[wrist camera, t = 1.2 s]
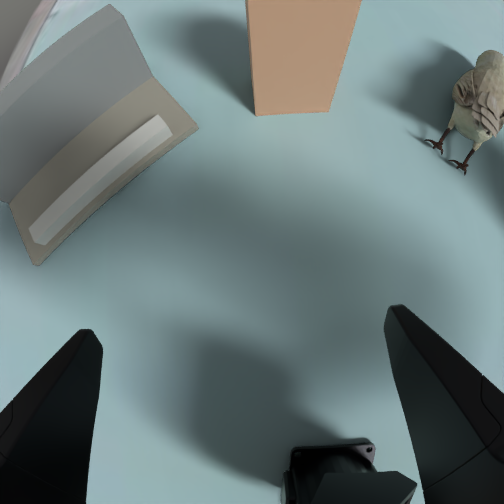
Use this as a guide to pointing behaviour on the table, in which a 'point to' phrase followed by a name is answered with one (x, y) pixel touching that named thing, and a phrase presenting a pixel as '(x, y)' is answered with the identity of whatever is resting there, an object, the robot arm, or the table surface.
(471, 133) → the decorative bird
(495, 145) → the table surface
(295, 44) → the tan tall block
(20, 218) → the wall board
